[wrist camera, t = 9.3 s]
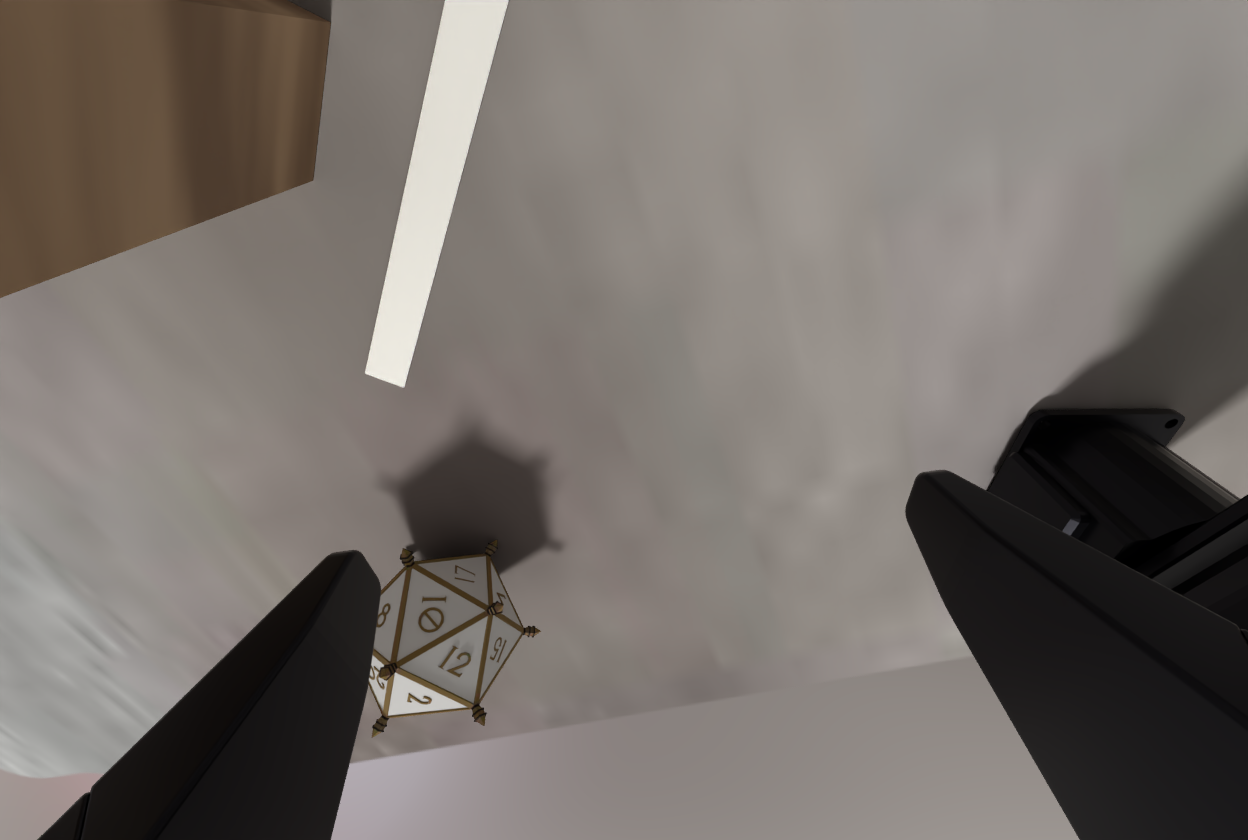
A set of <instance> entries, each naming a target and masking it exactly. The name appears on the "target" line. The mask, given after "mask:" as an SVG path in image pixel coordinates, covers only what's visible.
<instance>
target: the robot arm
mask: <svg viewBox="0 0 1248 840" xmlns="http://www.w3.org/2000/svg"><path fill="white" fill-rule="evenodd" d="M1184 420H1185V417H1184V416H1183V415H1182V414H1180V413H1178V412H1177V411H1175V410H1172V409H1091V410H1039V411H1037V412H1034V413H1033V414H1032V415H1030V416H1029V418H1028V419H1027V421H1026V423H1025V424H1024V426H1023V428H1022V430H1021V432H1020V434H1019V435H1018V437H1017V439H1016V441H1015V443H1014V445H1013V446H1012V448H1011V450H1010V452H1009V454H1008V456H1007V458H1006V459H1005V461H1004V463H1003V465H1002V467H1001V469H1000V470H999V472H998V474H997V476H996V478H995V480H994V481H993V483H992V485H991V487H990V489H989V491H986V490H984V489H982V488H980V487H978V486H977V485H975V484H973V483H971V482H969V481H967V480H965V479H963V478H962V477H960V476H958V475H956V474H954V473H952V472H950V471H947V470H936V471H929V472H922V473H920V474H919V475H918V476H917V477H916V479H915V481H914V484H913V487H912V490H911V493H910V496H909V499H908V501H907V504H906V511H905V513H906V518H907V522H908V524H909V526H910V529H911V531H912V533H913V535H914V538H915V540H916V542H917V544H918V547H919V549H920V551H921V553H922V556H923V558H924V560H925V562H926V565H927V567H928V569H929V571H930V574H931V576H932V578H933V580H934V583H935V585H936V587H937V589H938V592H939V594H940V596H941V598H942V600H943V602H944V604H945V606H946V608H947V610H948V612H949V614H950V615H951V617H952V619H953V621H954V623H955V624H956V626H957V628H958V630H959V631H960V633H961V635H962V637H963V638H964V640H965V642H966V644H967V645H968V647H969V649H970V650H971V652H972V654H973V656H974V657H975V659H976V661H977V663H978V664H979V666H980V668H981V669H982V671H983V673H984V675H985V676H986V678H987V680H988V682H989V683H990V685H991V687H992V688H993V690H994V692H995V694H996V695H997V697H998V699H999V701H1000V702H1001V704H1002V706H1003V708H1004V709H1005V711H1006V712H1007V715H1008V716H1009V718H1010V720H1011V721H1012V723H1013V725H1014V727H1015V728H1016V730H1017V732H1018V734H1019V735H1020V737H1021V739H1022V740H1023V742H1024V744H1025V746H1026V747H1027V749H1028V751H1029V753H1030V754H1031V756H1032V758H1033V760H1034V761H1035V763H1036V765H1037V766H1038V768H1039V770H1040V772H1041V773H1042V775H1043V777H1044V779H1045V780H1046V782H1047V784H1048V785H1049V787H1050V789H1051V791H1052V792H1053V794H1054V796H1055V798H1056V799H1057V801H1058V803H1059V805H1060V806H1061V808H1062V810H1063V811H1064V813H1065V815H1066V817H1067V818H1068V820H1069V822H1070V824H1071V825H1072V827H1073V829H1074V831H1075V832H1076V834H1077V836H1078V838H1079V839H1080V840H1248V495H1246V496H1245V497H1243V498H1242V499H1240V498H1238V497H1237V496H1235V495H1234V494H1232V493H1231V492H1230V491H1228V490H1227V489H1225V488H1224V487H1222V486H1221V485H1220V484H1218V483H1217V482H1215V481H1214V480H1212V479H1211V478H1210V477H1208V476H1207V475H1205V474H1204V473H1202V472H1201V471H1200V470H1198V469H1197V468H1195V467H1194V466H1192V465H1191V464H1190V463H1188V462H1187V461H1185V460H1184V459H1182V458H1181V457H1180V456H1178V455H1177V454H1175V453H1174V452H1172V451H1171V450H1170V449H1168V448H1167V447H1166V445H1167V444H1168V443H1169V441H1170V440H1171V439H1172V437H1173V436H1174V435H1175V433H1176V432H1177V431H1178V429H1179V428H1180V427H1181V425H1182V424H1183V422H1184ZM380 597H381V586H380V582H379V579H378V577H377V576H376V574H375V573H374V571H373V570H372V568H371V567H370V565H369V564H368V562H367V560H366V559H365V557H364V556H363V554H362V553H361V552H359V551H357V550H349V551H342V552H335V553H332V554H330V555H328V556H327V557H326V558H325V559H324V560H322V561H321V562H320V563H319V564H318V565H317V566H316V567H315V568H314V569H313V570H312V571H311V572H310V573H309V574H308V575H307V576H306V577H305V578H304V579H303V580H302V581H301V582H300V583H299V584H298V585H297V586H296V587H295V588H294V589H293V590H292V591H291V592H290V593H289V594H288V595H287V596H286V597H285V598H284V599H283V600H282V601H281V602H280V603H279V604H278V605H277V606H276V607H275V608H274V609H273V610H271V611H270V612H269V613H268V614H267V615H266V616H265V617H264V618H263V619H262V620H261V621H260V622H259V623H258V624H257V625H256V626H255V627H254V628H253V629H252V630H251V631H250V632H249V633H248V634H247V635H246V636H245V637H244V638H243V639H242V640H241V641H240V642H239V643H238V644H237V645H236V646H235V647H234V648H233V649H232V650H231V651H230V652H229V653H228V654H227V655H226V656H225V657H224V658H223V659H222V660H220V661H219V662H218V663H217V664H216V665H215V666H214V667H213V668H212V669H211V670H210V671H209V672H208V673H207V674H206V675H205V676H204V677H203V678H202V679H201V680H200V681H199V682H198V683H197V684H196V685H195V686H194V687H193V688H192V689H191V690H190V691H189V692H188V693H187V694H186V695H185V696H184V697H183V698H182V699H181V700H180V701H179V702H178V703H177V704H176V705H175V706H174V707H173V708H172V709H171V710H169V711H168V712H167V713H166V714H165V715H164V716H163V717H162V718H161V719H160V720H159V721H158V722H157V723H156V724H155V725H154V726H153V727H152V728H151V729H150V730H149V731H148V732H147V733H146V734H145V735H144V736H143V737H142V738H141V739H140V740H139V741H138V742H137V743H136V744H135V745H134V746H133V747H132V748H131V749H130V750H129V751H128V752H127V753H126V754H125V755H124V756H123V757H122V758H121V759H119V760H118V761H117V762H116V763H115V764H114V765H113V766H112V767H111V768H110V769H109V770H108V771H107V772H106V773H105V774H104V775H103V776H102V777H101V778H100V779H99V780H98V781H97V782H96V783H95V784H94V785H93V786H92V788H91V791H90V792H88V793H85V794H84V795H83V796H82V797H80V799H78V800H77V801H76V802H75V804H74V805H72V806H71V807H70V808H69V809H68V810H67V811H66V812H65V813H64V814H63V815H62V816H61V817H60V818H59V819H58V820H57V821H56V822H55V823H54V824H53V825H52V826H51V827H50V828H49V829H48V830H47V831H46V832H45V833H44V834H43V835H41V837H39V838H38V839H37V840H331V836H332V832H333V828H334V824H335V820H336V816H337V812H338V807H339V804H340V800H341V796H342V791H343V787H344V783H345V779H346V775H347V771H348V767H349V763H350V759H351V755H352V751H353V747H354V743H355V739H356V735H357V731H358V727H359V723H360V719H361V715H362V711H363V707H364V702H365V698H366V693H367V689H368V683H369V677H370V671H371V663H372V656H373V649H374V641H375V634H376V627H377V619H378V612H379V605H380Z"/></svg>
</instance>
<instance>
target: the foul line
mask: <svg viewBox="0 0 1248 840" xmlns="http://www.w3.org/2000/svg"><path fill="white" fill-rule="evenodd" d="M508 2H509V0H445V4H444V9H443V13H442V18H441V23H440V27H439V32H438V37H437V41H436V46H435V51H434V55H433V60H432V64H431V69H430V74H429V78H428V83H427V88H426V92H425V97H424V102H423V106H422V111H421V116H420V120H419V125H418V130H417V134H416V139H415V143H414V148H413V153H412V157H411V162H410V167H409V171H408V176H407V181H406V185H405V190H404V195H403V199H402V204H401V209H400V213H399V218H398V223H397V227H396V232H395V236H394V241H393V246H392V250H391V255H390V260H389V264H388V269H387V274H386V278H385V283H384V288H383V292H382V297H381V302H380V306H379V311H378V315H377V320H376V325H375V329H374V334H373V339H372V343H371V348H370V353H369V357H368V362H367V367H366V371H365V374H368V375H370V376H373V377H376V378H379V379H381V380H384V381H387V382H390V383H392V384H395V385H398V386H401V387H403V388H404V387H405V383H406V380H407V376H408V372H409V369H410V365H411V361H412V357H413V354H414V350H415V346H416V343H417V339H418V335H419V332H420V328H421V324H422V320H423V317H424V313H425V309H426V306H427V302H428V298H429V294H430V291H431V287H432V283H433V280H434V276H435V272H436V269H437V265H438V261H439V257H440V254H441V250H442V246H443V243H444V239H445V235H446V231H447V228H448V224H449V220H450V217H451V213H452V209H453V206H454V202H455V198H456V194H457V191H458V187H459V183H460V180H461V176H462V172H463V169H464V165H465V161H466V157H467V154H468V150H469V146H470V143H471V139H472V135H473V131H474V128H475V124H476V120H477V117H478V113H479V109H480V106H481V102H482V98H483V94H484V91H485V87H486V83H487V80H488V76H489V72H490V69H491V65H492V61H493V57H494V54H495V50H496V46H497V43H498V39H499V35H500V31H501V28H502V24H503V20H504V17H505V13H506V9H507V6H508Z"/></svg>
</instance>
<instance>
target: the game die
mask: <svg viewBox="0 0 1248 840" xmlns="http://www.w3.org/2000/svg"><path fill="white" fill-rule="evenodd" d="M488 544H489V545H488V547H486V552H485V553H484V554H475V555H466V556H457V557H449V558H440V559H431V560H422V561H414V560H413V559H414V556H412V554H413V552H411V551H407V550H405V549H404V548H403V550H402V554H401V556H400V560H402V563H403V564H404V566H405V567H404V568H403V569H402V570H401V571H400V572H399V573H398V574H397V575H396V576H395V577H394V578H393V579H392V580H391V581H390V582H389V583H388V584H387V585H386V586H385V587H384V588H383V589H382V590H381V597H380V605H379V612H378V619H377V627H376V634H375V641H374V649H373V656H372V663H371V671H370V677H369V683H368V684H369V686H370V688H371V691H372V693H373V695H374V698H375V700H376V702H377V704H378V707H379V709H380V711H381V714H382V716H381V717H380V718H379V719H377V720H376V723H375V725H373V727H372V728H373V733H372V738H373V737H374V736H376V735H377V734H379V733H381V732H384V728H385V727H387V725H386V724H387V721H388V719H389V718H397V717H406V716H415V715H424V714H433V713H442V712H451V711H460V710H469V709H472V711H473V715H472V717H474V719H475V720H474V722H478V723H480V724H481V725H483V726H485V716H486V714H487V713H485V712H484V708H481V707H480V706H479V704H480V702H481V701H482V699H483V698H484V696H485V694H486V693H487V691H488V690H489V688H490V686H491V685H492V683H493V682H494V680H495V678H496V677H497V675H498V674H499V672H500V670H501V669H502V667H503V666H504V664H505V663H506V661H507V659H508V658H509V656H510V655H511V653H512V651H513V650H514V648H515V647H516V645H517V643H518V642H519V640H520V639H521V637H522V635H526V636H528V637H529V636H532V637H534V636H535V635H536V634H538V633H539V632H541V631H540V630H538V629H537V628H535V626H533V627H530V626H528V627H526V628H524V627H523V625H522V623H521V621H520V619H519V617H518V615H517V612H516V610H515V608H514V606H513V604H512V602H511V600H510V598H509V595H508V593H507V591H506V589H505V587H504V585H503V583H502V581H501V578H500V576H499V574H498V572H497V570H496V568H495V566H494V564H493V562H492V559H491V555H492V554H493V553H495V552H494V551H495V550H496V549H498V548H497V540H495V541H493V542H491V543H488Z"/></svg>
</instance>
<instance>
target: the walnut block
mask: <svg viewBox="0 0 1248 840" xmlns="http://www.w3.org/2000/svg"><path fill="white" fill-rule="evenodd" d="M330 26H331V22H329V21H327V20H325V19H323V18H321V17H319V16H317V15H315V14H313V13H311V12H309V11H307V10H305V9H303V8H301V7H299V6H297V5H295V4H293V3H292V2H290V1H288V0H0V298H1V297H4V296H6V295H9V294H12V293H14V292H17V291H20V290H22V289H25V288H28V287H30V286H33V285H36V284H38V283H41V282H44V281H46V280H49V279H52V278H54V277H57V276H60V275H62V274H65V273H68V272H70V271H73V270H76V269H78V268H81V267H84V266H86V265H89V264H92V263H94V262H97V261H100V260H102V259H105V258H108V257H110V256H113V255H116V254H118V253H121V252H124V251H126V250H129V249H132V248H134V247H137V246H140V245H142V244H145V243H148V242H150V241H153V240H156V239H158V238H161V237H164V236H166V235H169V234H172V233H174V232H177V231H180V230H182V229H185V228H188V227H190V226H193V225H196V224H198V223H201V222H204V221H206V220H209V219H212V218H214V217H217V216H220V215H222V214H225V213H228V212H230V211H233V210H236V209H238V208H241V207H244V206H246V205H249V204H252V203H254V202H257V201H260V200H262V199H265V198H268V197H270V196H273V195H276V194H278V193H281V192H284V191H286V190H289V189H292V188H294V187H297V186H300V185H302V184H305V183H308V182H310V181H313V177H314V168H315V159H316V150H317V141H318V132H319V123H320V114H321V106H322V97H323V88H324V79H325V70H326V61H327V52H328V43H329V34H330Z"/></svg>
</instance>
